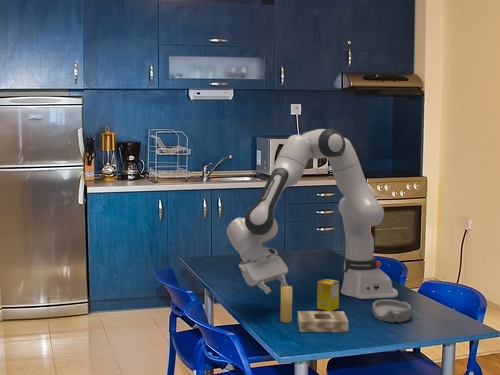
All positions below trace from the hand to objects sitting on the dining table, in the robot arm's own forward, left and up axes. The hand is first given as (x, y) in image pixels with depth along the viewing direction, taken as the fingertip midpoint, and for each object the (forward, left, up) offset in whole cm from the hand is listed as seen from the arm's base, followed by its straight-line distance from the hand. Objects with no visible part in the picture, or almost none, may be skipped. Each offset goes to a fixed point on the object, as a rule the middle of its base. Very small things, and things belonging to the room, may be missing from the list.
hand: (277, 289), depth 252 cm
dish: (-41, -3, -11) cm, 43 cm away
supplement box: (-19, -11, -11) cm, 24 cm away
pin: (-3, +2, -10) cm, 11 cm away
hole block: (-15, +8, -10) cm, 20 cm away
